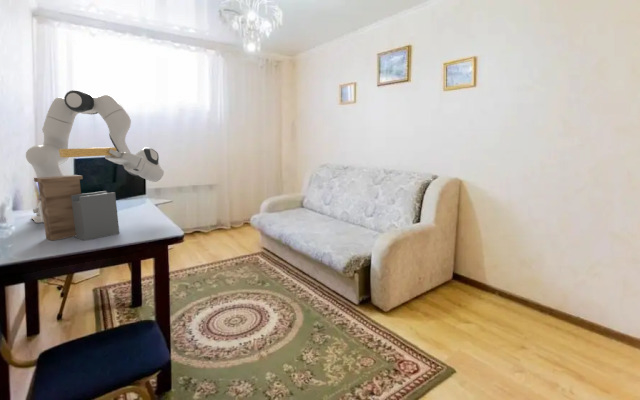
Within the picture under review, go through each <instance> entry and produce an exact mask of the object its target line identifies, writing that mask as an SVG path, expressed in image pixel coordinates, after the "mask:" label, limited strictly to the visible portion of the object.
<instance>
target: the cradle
mask: <svg viewBox="0 0 640 400" xmlns="http://www.w3.org/2000/svg"><path fill="white" fill-rule="evenodd" d="M71 200H72V208H73V216H74V224H75V232H76V236H75V238H76V239H80V240H82V241H90V240H95V239H99V238H103V237H108V236H111V235H116V234H117V235H118V234H120V226H119V216H118V208H117V207H118V206H117V198H116V192H108V191H107V190H103V191H95V192H87V193H81V194H77V195H71Z"/></svg>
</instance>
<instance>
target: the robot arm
mask: <svg viewBox="0 0 640 400" xmlns="http://www.w3.org/2000/svg"><path fill="white" fill-rule="evenodd" d="M78 114H83V115H96V114H99V116H101V118H102V120H104V122H105V123H106V125H107V128H108V132H109V133H108V134H109V139H110V141H111V143H112V145H113V147H114V148H116V150H117V151H114V150H112V149H109V150H108V153H110V154H113V155H107V156H104V158H105V160H108V161H109V162H112V163H113V164H117V165H122V167H123V169H124V170H125V171H126V172H127V173H128V174H130V175H132V176H135V177H140V178H142V179H143V180H144V179H145V180H146V181H149V182H152V183H156V182H159V181H160V180H161V179H162V178H163V176H164V174H165V172H164V170H163V168H162V167H161V165H160V161H159V160H160V159H159V153H158V152H157V151H156V150H155V149H154V148H152V147H149V146H148V147H147V146H145V147H143V148H141V149H140V150H139V151H138V152H137V153H135V154H134V153H131V150H130V149H129V146H128V145H127V143H126V137H127V134H128V131H129V130H130V128H131V126H132V125H131V123H132V121H131V120H132V119H131V117H130V115H129V114H128V112H127V111H126V110H125V108H124V107H123V105H121V104H120V103H119V102H118V100H117V99H115V98H114V96H112V95H111V94H108V93H105V94H101V95H99V96H98V95H97V94H94V93H92V92H90V91H84V90H80V89H73V90H69V91H67V92H66V93H65V95H64V97H61V96H59V97H55V98H54V99H53V101H52V102H51V104H50V106H49V108H48V111H47V114H46V116H45V121H44V122H43V125H42V133H43V143H42V144H35V145H34V146H32V147H30V148H28V149H27V150H26V152H25V158H26V161H27V162H28V164H30V165H31V167H32V168H33V170H34V172H35V176H36V178H40V177H52V176H64V174H63V173H62V170H61V169H60V165H61V164H64V163H65V162H67V161H68V159H69V158H70V157H65V158H63V157H60V153H59V149H69V139H70V134H71V131H72V129H73V128H72V127H73V125H74V121H75V120H76V119H75V118H76V116H77V115H78ZM38 198H39V202H38V204H37V205H36V207H35V208H33V209H32V212H33V214H35V215H32V216H31V218H32V219H33V220H34V221H33V220H32V221H33V222H34V223H37V224H39V223H44V219H43V212H42V205H41V198H40V194H39V195H38ZM31 218H30V219H31Z"/></svg>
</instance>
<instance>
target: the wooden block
mask: <svg viewBox="0 0 640 400" xmlns="http://www.w3.org/2000/svg"><path fill="white" fill-rule="evenodd" d="M109 149H112V150H114V151H117V150H116V148H115V147H114V146H113V147H86V148H85V147H84V148H79V147H78V148H68V149H59V153H60V157H63V158H65V157H69V158H80V157H81V158H82V157H86V158H87V157H103V156H104V157H105V156H107V155H113V154H110V153H108V150H109Z"/></svg>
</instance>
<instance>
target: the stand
mask: <svg viewBox="0 0 640 400" xmlns="http://www.w3.org/2000/svg"><path fill="white" fill-rule="evenodd" d="M63 175H64V174H63ZM83 179H84V178H83V175H80V174H79V175H78V174H69V175H67V174H66V175H64V176H52V177H40V178H37V177H33V180H34V182H35V183H38V189H39V195H40V198H41V205H42V212H43V219H44V222H43V224H44V232H45V239H46V240H49V241H57V240H62V239H65V238H71V237H76V232H75V224H74V216H73V208H72V200H71V195H77V194H82V188H81V181H80V180H83Z"/></svg>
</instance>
